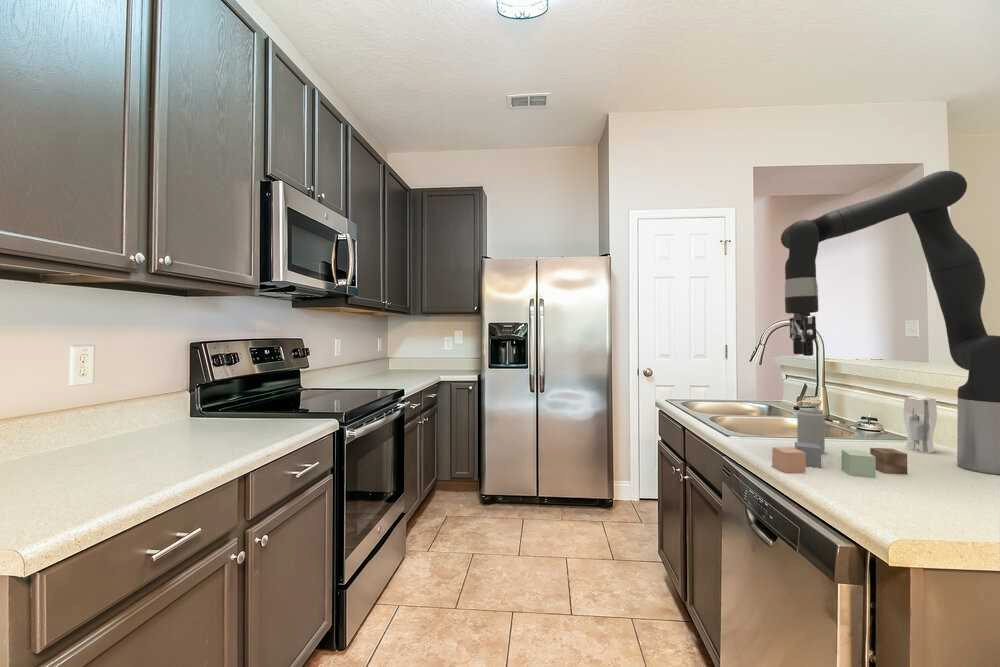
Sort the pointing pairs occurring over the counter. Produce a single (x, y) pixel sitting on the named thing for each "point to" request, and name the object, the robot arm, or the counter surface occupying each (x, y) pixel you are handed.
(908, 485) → the counter surface
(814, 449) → the slate cube
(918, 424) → the beer glass
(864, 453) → the sage cube
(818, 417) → the beverage can
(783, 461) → the terracotta cube
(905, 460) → the walnut cube
